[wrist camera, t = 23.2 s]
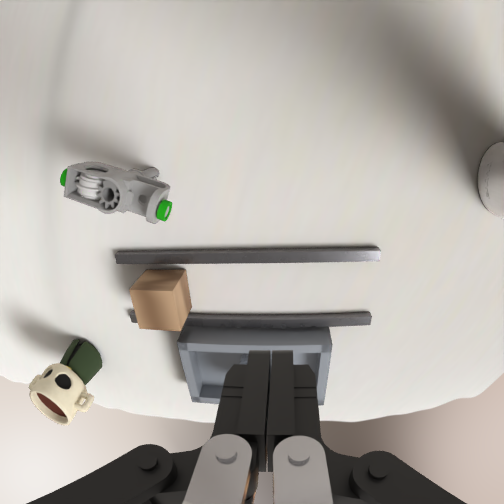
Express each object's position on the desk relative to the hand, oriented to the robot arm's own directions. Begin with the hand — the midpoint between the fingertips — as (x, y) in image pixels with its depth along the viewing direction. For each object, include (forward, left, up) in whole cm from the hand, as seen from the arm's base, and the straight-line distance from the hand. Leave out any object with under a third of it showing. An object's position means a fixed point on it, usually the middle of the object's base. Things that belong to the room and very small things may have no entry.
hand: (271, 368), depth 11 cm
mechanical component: (+13, -4, -23) cm, 27 cm away
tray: (+3, +20, -23) cm, 31 cm away
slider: (+13, +10, -23) cm, 28 cm away
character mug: (+30, +22, -23) cm, 44 cm away
